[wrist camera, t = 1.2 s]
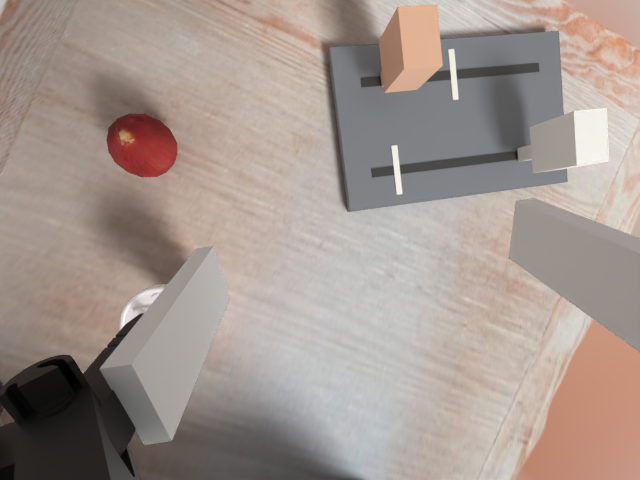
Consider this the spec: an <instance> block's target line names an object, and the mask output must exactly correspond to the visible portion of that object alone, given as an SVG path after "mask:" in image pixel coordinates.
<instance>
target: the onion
mask: <svg viewBox="0 0 640 480" xmlns="http://www.w3.org/2000/svg"><path fill="white" fill-rule="evenodd" d="M107 144H108V150H109V153H110V155H111V156H112V158H113V160H114V161H115V162H116V163H117V164H118V165H119V166H120V167H122V168H123V169H124V170H126V171H127V172H129V173H131V174H134V175H137V176H140V177H157V176H159V175H161V174H163V173H166V172H167V171H168V170H169V169H170V168H171V167H172V165H173V164H174V162H175V159H176V157H177V143H176V140H175V138H174V136H173V135H172V133H171V131H170V129H169V128H168V127H166V126H165V125H164V124H163V123H162V122H161V121H159V120H157V119H155V118H152V117H150V116H148V115H146V114H128V115H125V116H123V117H120V118H118V119H117V120H116V121H115V122H114V123H113V124H112V125H111V126H110V127H109V130H108V136H107Z"/></svg>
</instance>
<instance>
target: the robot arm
mask: <svg viewBox="0 0 640 480" xmlns="http://www.w3.org/2000/svg"><path fill="white" fill-rule="evenodd" d="M509 259H511V260H512V261H514V262H515V263H516V264H518V265H519V266H521V267H522V268H523V269H525V270H526V271H528V272H529V273H530V274H532V275H533V276H534V277H536V278H537V279H539V280H540V281H541V282H543V283H544V284H546V285H547V286H548V287H550V288H551V289H553V290H554V291H555V292H557V293H558V294H559V295H561V296H562V297H564V298H565V299H566V300H568V301H569V302H571V303H572V304H573V305H575V306H576V307H578V308H579V309H580V310H582V311H583V312H585V313H586V314H587V315H589V316H590V317H591V318H593V319H594V320H596V321H597V322H598V323H600V324H601V325H603V326H604V327H605V328H607V329H608V330H610V331H611V332H612V333H614V334H615V335H616V336H618V337H619V338H621V339H622V340H623V341H625V342H626V343H628V344H629V345H630V346H632V347H633V348H635V349H636V350H637V351H639V352H640V238H638V237H635V236H632V235H630V234H627V233H624V232H622V231H619V230H616V229H614V228H611V227H608V226H606V225H603V224H601V223H598V222H595V221H593V220H590V219H587V218H585V217H582V216H579V215H577V214H574V213H571V212H569V211H566V210H563V209H561V208H558V207H556V206H553V205H550V204H548V203H545V202H542V201H540V200H537V199H534V198H532V199H525V200H519V201H516V203H515V211H514V219H513V228H512V236H511V244H510V253H509ZM229 300H230V297H229V294H228V291H227V287H226V284H225V281H224V278H223V275H222V272H221V268H220V265H219V262H218V259H217V256H216V252H215V249H214V246H211V247H205V248H198V249H196V250H195V251H194V252H193V253H192V255H191V256H190V257H189V258H188V260H187V261H186V262H185V263H184V265H183V266H182V267H181V268H180V270H179V271H178V272H177V273H176V274H175V276H174V277H173V278H172V279H171V281H170V282H169V283H168V284H167V286H166V287H165V288H164V289H163V291H162V292H161V293H160V294H159V296H158V297H157V298H156V299H155V300H154V302H153V303H152V304H151V305H150V307H149V308H148V309H147V310H146V312H145V313H141V314H139V315H137V316H136V317H135V318H133V319H132V320H131V321H129V322H128V323H127V324H125V326H124V327H123V328H122V329H121V330H120V331H119V333H118V334H117V335H116V338H113V340H112V341H111V342H110V343H109V344H108V345H107V346H108V347H107V348H105V349H104V350H103V351H102V352H101V354H100V355H99V356H98V357H97V358H96V360H95V361H94V362H93V363H92V364H91V365H90V367H89V368H88V369H87V370H86V371H85V372H84V374H82V372H81V370H80V369H79V367H78V366H77V364H76V362H75V361H74V359H73V358H72V357H71V356H70V355H59V356H54V357H50V358H47V359H45V360H42V361H40V362H37V363H36V364H34V365H32V366H30V367H28V368H26V369H25V370H23V371H21V372H20V373H19V374H17V375H16V376H15V377H13V378H12V379H10V380H9V381H8V382H7V383H6V384H5V385H4V386H3V387H2V388H1V390H0V403H1V404H2V406H3V407H4V408H5V409H6V410H7V412H8V413H9V414H10V415H11V417H12V418H13V419H14V420H15V422H12V423H10V424H7V425H4V426H2V427H0V480H140V477H139V474H138V471H137V467H136V464H135V461H134V458H133V455H132V452H131V451H130V449H129V448H128V446H127V445H128V443H129V441H130V440H131V438H132V436H133V434H134V432H135V431H136V433H137V434H138V436H139V438H140V439H141V441H142V443H143V444H144V445H148V444H155V443H162V442H169V441H172V440H173V437H174V435H175V432H176V430H177V427H178V425H179V423H180V420H181V418H182V415H183V413H184V410H185V408H186V405H187V403H188V401H189V398H190V396H191V393H192V391H193V388H194V386H195V383H196V381H197V379H198V376H199V374H200V371H201V369H202V366H203V364H204V361H205V359H206V357H207V354H208V352H209V349H210V347H211V344H212V342H213V339H214V337H215V335H216V332H217V330H218V327H219V325H220V322H221V320H222V317H223V315H224V313H225V310H226V308H227V305H228V303H229Z"/></svg>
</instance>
